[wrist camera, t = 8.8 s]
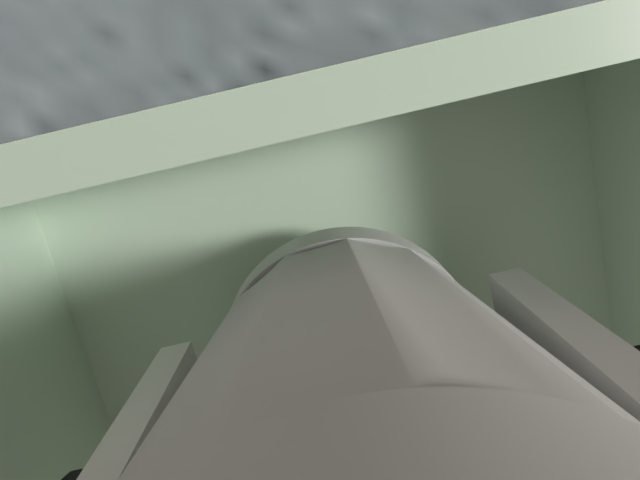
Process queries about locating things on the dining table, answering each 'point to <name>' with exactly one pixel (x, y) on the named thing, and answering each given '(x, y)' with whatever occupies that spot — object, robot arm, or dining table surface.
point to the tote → (312, 204)
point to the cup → (378, 382)
